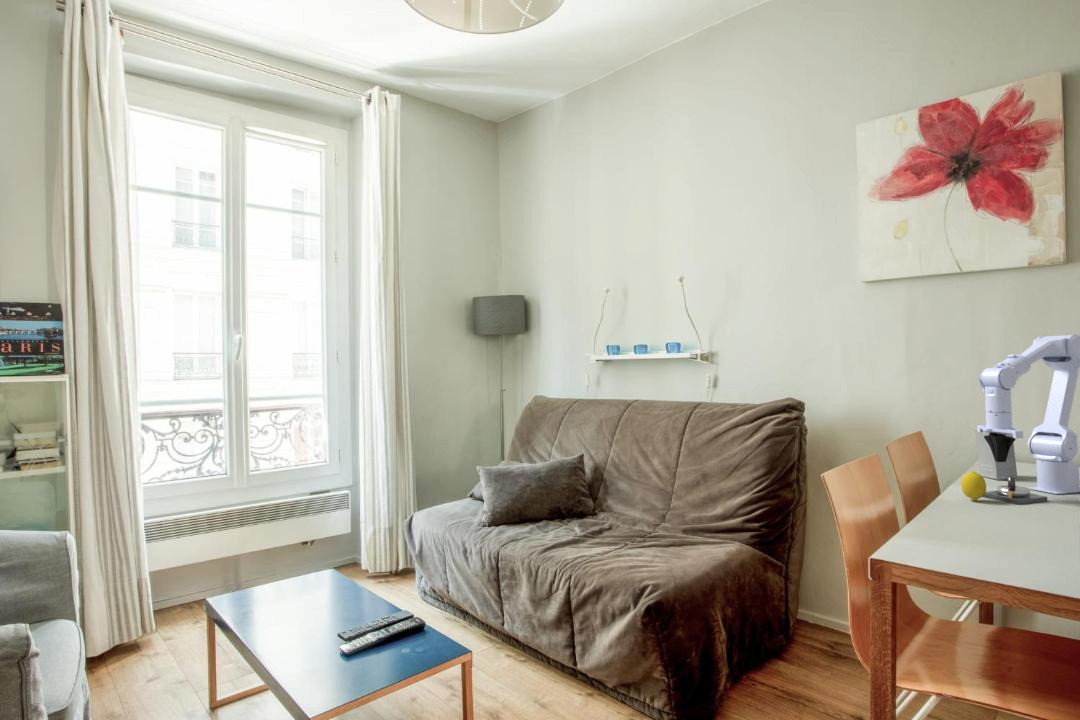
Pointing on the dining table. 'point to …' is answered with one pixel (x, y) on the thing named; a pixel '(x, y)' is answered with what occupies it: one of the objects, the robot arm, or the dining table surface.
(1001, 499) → the dial plate
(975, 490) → the lemon
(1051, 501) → the dining table surface
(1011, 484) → the dial
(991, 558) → the dining table surface
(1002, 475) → the skincare box
